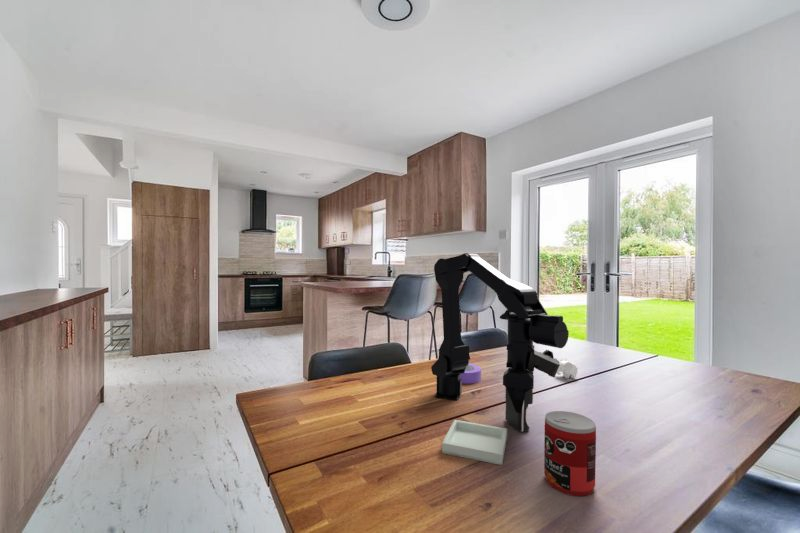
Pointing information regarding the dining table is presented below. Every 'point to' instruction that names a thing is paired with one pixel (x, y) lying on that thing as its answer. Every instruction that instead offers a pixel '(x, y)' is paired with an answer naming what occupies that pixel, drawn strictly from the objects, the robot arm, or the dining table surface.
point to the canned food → (570, 452)
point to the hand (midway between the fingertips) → (519, 406)
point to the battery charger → (518, 418)
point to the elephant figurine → (567, 369)
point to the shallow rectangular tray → (476, 442)
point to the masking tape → (471, 374)
